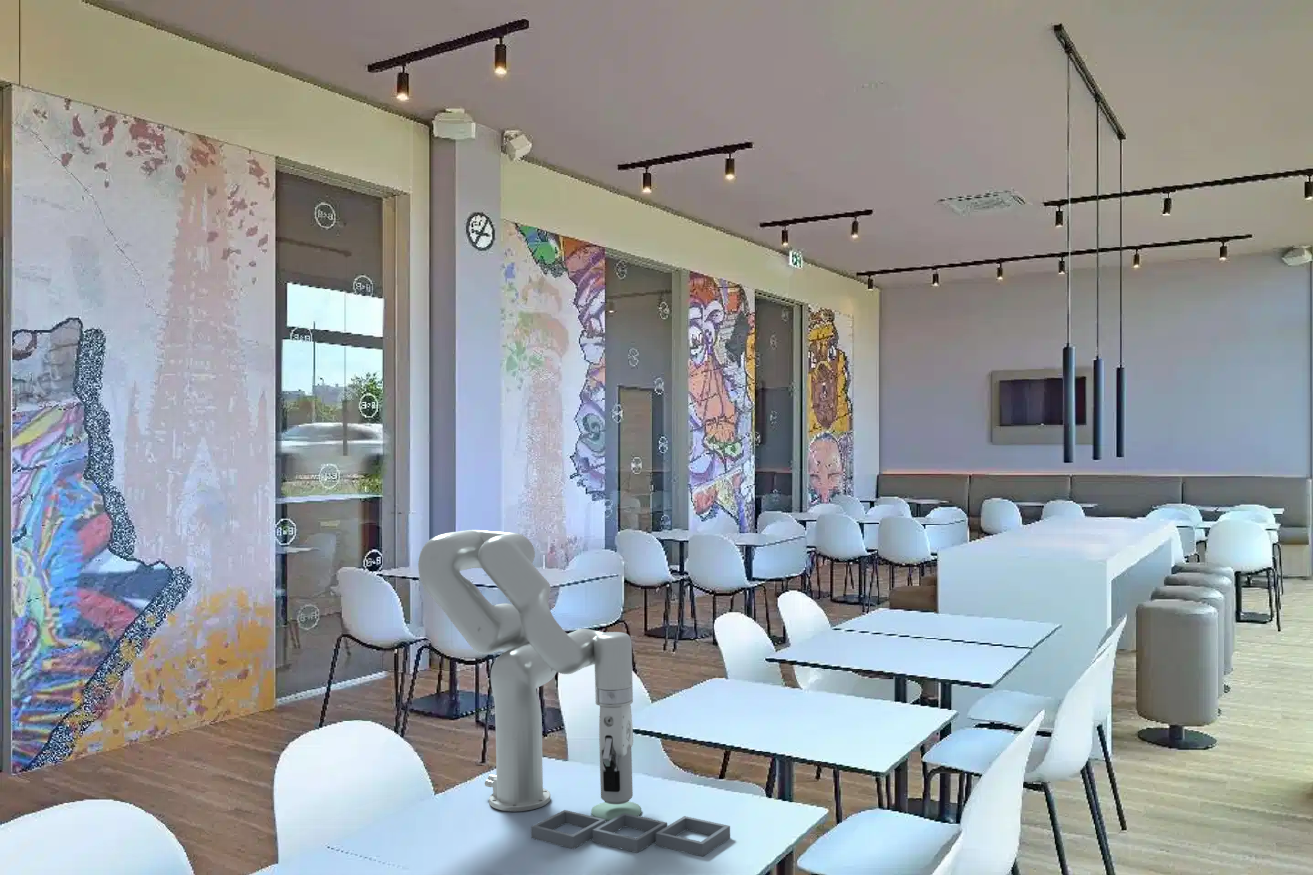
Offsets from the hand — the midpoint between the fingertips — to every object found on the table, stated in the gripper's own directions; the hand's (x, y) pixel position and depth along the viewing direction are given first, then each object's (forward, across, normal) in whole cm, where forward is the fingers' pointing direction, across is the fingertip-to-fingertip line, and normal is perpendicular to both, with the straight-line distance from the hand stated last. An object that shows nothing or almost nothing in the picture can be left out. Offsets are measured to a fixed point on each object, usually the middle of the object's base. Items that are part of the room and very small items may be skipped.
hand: (616, 784), depth 198 cm
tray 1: (+6, -13, +6) cm, 15 cm away
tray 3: (+6, -12, -18) cm, 22 cm away
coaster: (+6, 0, 0) cm, 6 cm away
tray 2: (+6, -12, -6) cm, 15 cm away
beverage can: (+3, 0, 0) cm, 3 cm away
